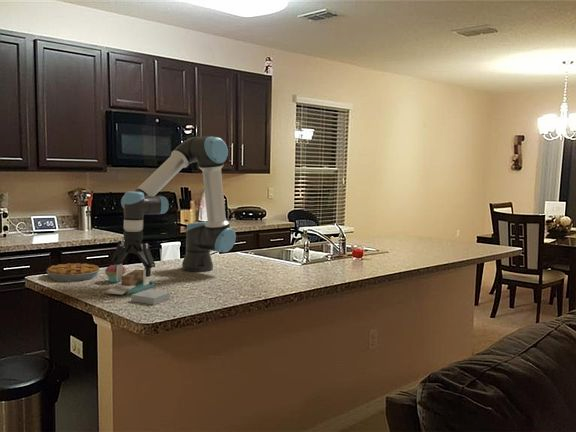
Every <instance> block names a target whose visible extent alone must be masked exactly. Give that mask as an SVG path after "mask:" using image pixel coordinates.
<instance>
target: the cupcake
mask: <svg viewBox="0 0 576 432" xmlns="http://www.w3.org/2000/svg"><path fill="white" fill-rule="evenodd" d="M104 272H105V275H107V278H108V281H109V282H110V283H120V282H122V281H121V280H119V281H116V273H117V272H116V271H115V264H113V265H112V264H111V265H109V266H107V267H106V268H105V270H104ZM126 273H127V268H125V266H123V274H122V276H124V274H125V275H126Z"/></svg>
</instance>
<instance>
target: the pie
mask: <svg viewBox="0 0 576 432" xmlns="http://www.w3.org/2000/svg"><path fill="white" fill-rule="evenodd" d="M45 272H46V273H47V274H48V277H49V278H50V279H51V280H52V281H57V282H58V281H59V282H77V281H80V282H81V281H87V280H92V279H94V278H96V277H97V274H98V272H100V267H99V266H98V265H96V264H90V263H87V262H85V263H80V262H78V263H77V262H76V263H70V262H69V263H66V264H65V263H64V264H63V263H60V264H57V265H50V267H49V266H48V267H47V269H46V271H45Z"/></svg>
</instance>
